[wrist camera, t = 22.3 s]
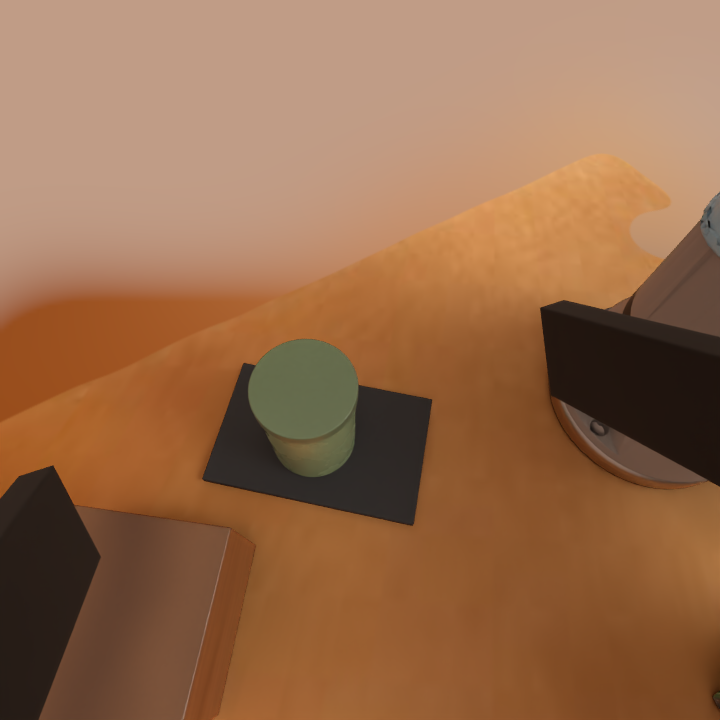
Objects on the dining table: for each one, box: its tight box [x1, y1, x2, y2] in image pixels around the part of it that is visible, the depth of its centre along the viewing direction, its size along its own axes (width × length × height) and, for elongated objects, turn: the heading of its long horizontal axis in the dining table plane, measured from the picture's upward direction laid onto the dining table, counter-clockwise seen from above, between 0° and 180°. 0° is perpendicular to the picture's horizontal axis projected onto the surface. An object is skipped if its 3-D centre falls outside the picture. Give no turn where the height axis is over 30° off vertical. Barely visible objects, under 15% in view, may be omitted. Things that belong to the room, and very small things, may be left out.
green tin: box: [248, 339, 358, 477], centre depth 34 cm, size 7×7×10 cm
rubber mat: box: [202, 363, 432, 526], centre depth 38 cm, size 16×10×1 cm, turn 78°
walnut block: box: [39, 505, 255, 720], centre depth 29 cm, size 10×10×8 cm
